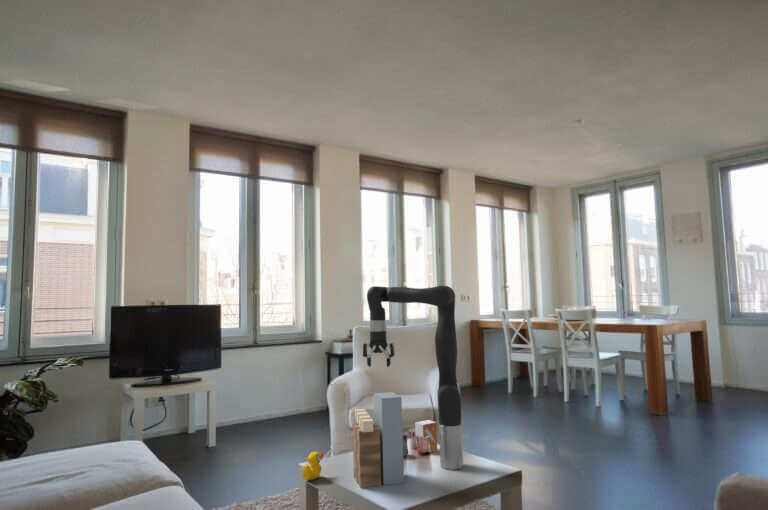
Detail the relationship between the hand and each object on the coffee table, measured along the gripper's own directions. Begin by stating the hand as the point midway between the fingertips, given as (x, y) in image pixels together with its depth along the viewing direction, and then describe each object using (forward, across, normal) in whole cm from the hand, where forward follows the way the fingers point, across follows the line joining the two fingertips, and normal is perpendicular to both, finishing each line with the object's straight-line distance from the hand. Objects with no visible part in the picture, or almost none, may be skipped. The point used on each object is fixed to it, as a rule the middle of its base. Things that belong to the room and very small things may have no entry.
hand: (379, 366), depth 226 cm
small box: (+40, +18, +14) cm, 46 cm away
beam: (+20, 0, -27) cm, 33 cm away
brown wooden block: (+40, +2, -29) cm, 50 cm away
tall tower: (+40, +10, -25) cm, 48 cm away
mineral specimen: (+40, +7, +5) cm, 41 cm away
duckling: (+40, -20, -30) cm, 54 cm away
